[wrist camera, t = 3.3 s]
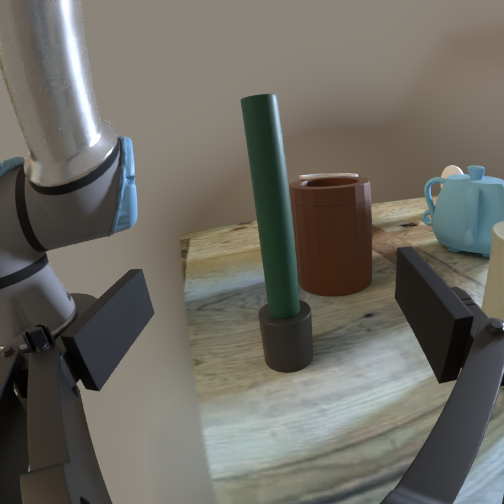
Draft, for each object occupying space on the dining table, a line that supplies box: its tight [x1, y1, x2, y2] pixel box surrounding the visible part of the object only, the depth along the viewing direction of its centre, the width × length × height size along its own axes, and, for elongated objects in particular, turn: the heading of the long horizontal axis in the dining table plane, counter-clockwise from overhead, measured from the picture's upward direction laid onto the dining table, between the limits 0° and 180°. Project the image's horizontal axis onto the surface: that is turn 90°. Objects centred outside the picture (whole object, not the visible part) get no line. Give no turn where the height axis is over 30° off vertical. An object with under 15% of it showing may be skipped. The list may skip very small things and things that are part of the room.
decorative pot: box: [422, 166, 504, 258], centre depth 42 cm, size 16×16×14 cm
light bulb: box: [441, 165, 463, 189], centre depth 65 cm, size 7×7×11 cm
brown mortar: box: [289, 176, 372, 296], centre depth 40 cm, size 10×10×13 cm
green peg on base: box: [241, 94, 313, 372], centre depth 24 cm, size 4×4×22 cm
